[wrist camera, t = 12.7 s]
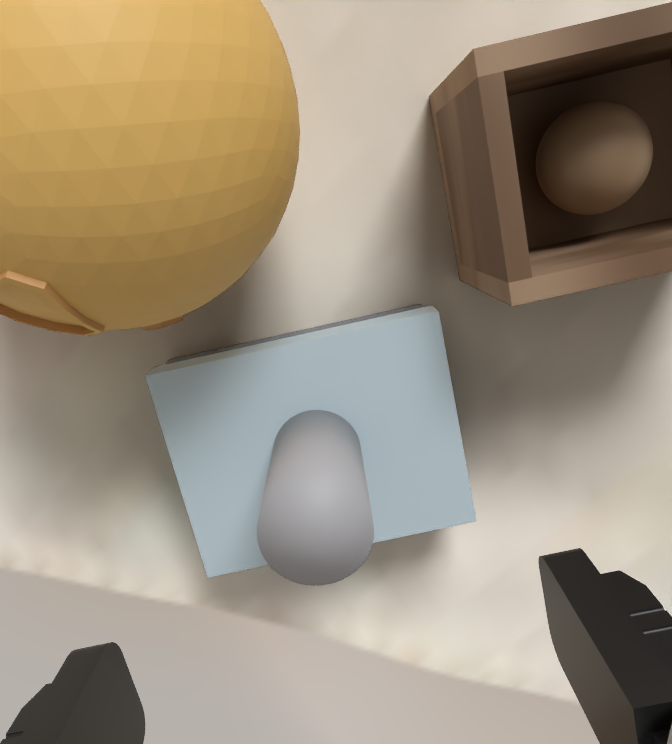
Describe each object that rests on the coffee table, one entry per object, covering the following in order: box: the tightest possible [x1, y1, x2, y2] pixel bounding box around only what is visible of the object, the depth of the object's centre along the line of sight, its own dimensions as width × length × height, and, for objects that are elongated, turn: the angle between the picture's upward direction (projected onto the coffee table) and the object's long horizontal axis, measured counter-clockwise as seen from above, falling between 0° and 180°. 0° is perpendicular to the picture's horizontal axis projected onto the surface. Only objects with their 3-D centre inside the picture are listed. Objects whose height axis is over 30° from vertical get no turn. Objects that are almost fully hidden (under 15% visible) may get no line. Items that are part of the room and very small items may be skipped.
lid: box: [145, 305, 476, 585], centre depth 18 cm, size 9×7×7 cm
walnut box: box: [429, 2, 672, 306], centre depth 18 cm, size 8×6×6 cm
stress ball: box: [0, 0, 300, 336], centre depth 15 cm, size 10×10×10 cm
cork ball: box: [536, 100, 653, 215], centre depth 18 cm, size 3×3×3 cm
